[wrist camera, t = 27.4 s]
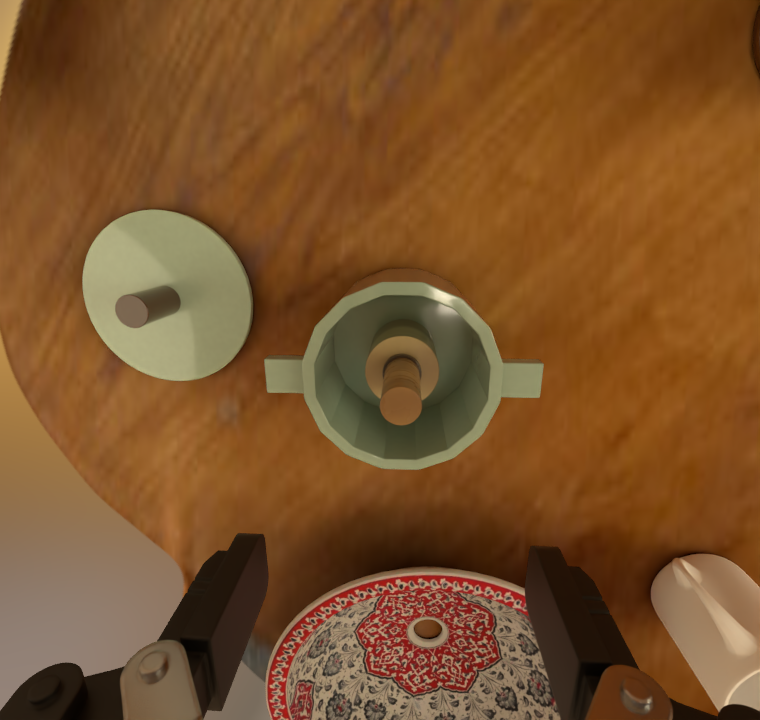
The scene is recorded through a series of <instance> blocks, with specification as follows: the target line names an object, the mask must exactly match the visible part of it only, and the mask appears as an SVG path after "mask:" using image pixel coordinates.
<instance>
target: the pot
mask: <svg viewBox="0 0 760 720" xmlns="http://www.w3.org/2000/svg"><path fill="white" fill-rule="evenodd" d="M398 319H408V320H412V321H415V322H417V323H419V324H421V325H422V326H424V327H425V328H426V329H427V330H428V331H429V333H430V334H431V336H432V338H433V341H434V345H435V350H436V354H437V359H438V363H439V379H438V382H437V385H436V387H435V388H434V390H433V391H432V393H431V394H430V395H429V396H428V397H427V398H425V399H424V400H422V410H421V413H420V415H419V417H418V418H417V419H416V420H415V421H414V422H412V423H410V424H407V425H395V424H392V423H390V422H389V421H387V420H386V419H385V418H384V417H383V415H382V413H381V411H380V399H379V398H378V397H377V396H376V395H375V394H374V393H373V392H372V390H371V389H370V387H369V385H368V383H367V380H366V376H365V365H366V361H367V358H368V354H369V351H370V347H371V344H372V341H373V338H374V336H375V334H376V333H377V331H378V330H379V329H380V328H381V327H382V326H383V325H385V324H386V323H388V322H391V321H394V320H398ZM264 363H265V374H266V386H267V392H268V393H304V399H305V401H306V403H307V405H308V407H309V409H310V411H311V413H312V415H313V417H314V420H315V422H316V424H317V426H318V428H319V430H320V431H321V432H322V433H323V434H324V435H325V436H326V437H327V438H329V439H330V440H331V441H332V442H333V443H334V444H335V445H336V446H337V447H339V448H340V449H341V450H342V451H343V452H344V453H345V454H346V455H348V456H351V457H353V458H356V459H358V460H361V461H363V462H366V463H368V464H371V465H374V466H376V467H379V468H382V469H408V470H418V469H419V470H420V469H423V468H426V467H429V466H432V465H435V464H438V463H441V462H444V461H447V460H450V459H453V458H454V457H456V456H457V455H458V454H459V453H461V452H462V451H463V450H464V449H466V448H467V447H468V446H469V445H470V444H472V443H473V442H474V441H475V440H477V439H478V438H479V437H480V436H481V435H482V434H483V433H484V431H485V429H486V427H487V425H488V424H489V422H490V420H491V418H492V416H493V414H494V413H495V411H496V409H497V407H498V405H499V403H500V400H501V397H518V398H540V392H541V383H542V375H543V366H544V364H543V363H542V362H541V361H540V360H539V359H501V356H500V354H499V351H498V348H497V345H496V342H495V339H494V337H493V334H492V331H491V329H490V327H489V326H488V324H487V323H486V322H485V321H484V319H483V318H482V317H481V316H480V314H479V313H478V312H477V311H476V309H475V308H474V307H473V305H472V304H471V303H470V302H469V301H468V300H467V299H466V298H465V297H464V296H463V295H462V294H461V292H459V290H458V289H457V288H456V287H455V286H454V285H453V284H452V283H451V282H449V281H447V280H445V279H442V278H440V277H439V276H437V275H435V274H432V273H429V272H426V271H424V270H421V269H408V268H398V269H385V270H383V271H380V272H378V273H375V274H372V275H370V276H368V277H366V278H364V279H361V280H359V281H357V282H356V283H355V284H354V285H353V286H352V287H351V288H350V289H349V290H348V291H347V292H346V293H345V294H344V295H343V296H342V297H341V298H340V299H339V300H338V301H337V302H336V303H335V305H334V306H333V307H332V308H331V309H330V310H329V311H328V312H327V313H326V315H325V316H324V317H323V318H322V319H321V320H320V321H319V322H318V323H317V325H316V326H315V328H314V330H313V333H312V336H311V338H310V341H309V344H308V346H307V349H306V352H305V355H304V356H295V355H268V356H267V357H266V358H265V359H264Z"/></svg>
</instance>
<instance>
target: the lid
mask: <svg viewBox="0 0 760 720" xmlns="http://www.w3.org/2000/svg"><path fill="white" fill-rule="evenodd" d="M82 282H83V295H84V301H85V304H86V308H87V312H88V314H89V317H90V319H91V321H92V323H93V325H94V327H95V329H96V331H97V332H98V334H99V335H100V337H101V338H102V340H103V341H104V342H105V343H106V345H107V346H108V347H109V348H110V349H111V350H112V351H113V352H114V353H115V354H116V355H117V356H118V357H119V358H120V359H122V360H123V361H124V362H126V363H127V364H128V365H130V366H132V367H133V368H135V369H137V370H139V371H141V372H143V373H145V374H147V375H150V376H153V377H156V378H160V379H165V380H172V381H190V380H195V379H200V378H203V377H206V376H209V375H211V374H213V373H215V372H217V371H219V370H220V369H222V368H223V367H225V366H226V365H227V364H228V363H229V362H231V361H232V360H233V359H234V358H235V357H236V355H237V354H238V353H239V352H240V350H241V349H242V347H243V345H244V344H245V342H246V340H247V337H248V335H249V332H250V329H251V324H252V319H253V297H252V290H251V286H250V283H249V279H248V276H247V274H246V271H245V269H244V267H243V265H242V263H241V261H240V260H239V258H238V256H237V255H236V253H235V252H234V251H233V249H232V248H231V247H230V245H229V244H228V243H227V242H226V241H225V240H224V239H223V238H222V237H221V236H220V235H219V234H218V233H216V232H215V231H214V230H213V229H211V228H210V227H208V226H207V225H205V224H204V223H202V222H201V221H199V220H197V219H194V218H192V217H190V216H187V215H185V214H182V213H178V212H173V211H169V210H154V209H152V210H141V211H136V212H132V213H129V214H127V215H124V216H122V217H120V218H118V219H116V220H115V221H113V222H111V223H110V224H109V225H108V226H107V227H105V228H104V229H103V230H102V231H101V232H100V234H99V235H98V236H97V237H96V239H95V240H94V242H93V243H92V245H91V247H90V249H89V251H88V254H87V256H86V260H85V264H84V268H83V277H82Z"/></svg>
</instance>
